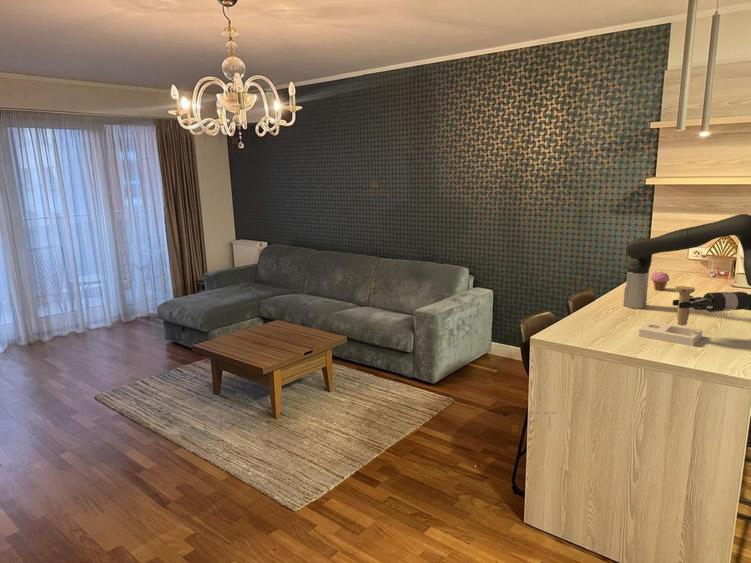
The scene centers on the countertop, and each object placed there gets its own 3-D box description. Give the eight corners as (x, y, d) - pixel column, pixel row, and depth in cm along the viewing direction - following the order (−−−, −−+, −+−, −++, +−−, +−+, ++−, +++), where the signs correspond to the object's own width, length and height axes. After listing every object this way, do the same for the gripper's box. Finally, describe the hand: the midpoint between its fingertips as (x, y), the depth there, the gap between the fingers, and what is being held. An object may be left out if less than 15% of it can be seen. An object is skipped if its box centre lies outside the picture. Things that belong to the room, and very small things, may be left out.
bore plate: (638, 336, 203) (639, 329, 203) (649, 327, 213) (650, 320, 212) (692, 346, 190) (693, 338, 190) (701, 336, 200) (702, 329, 199)
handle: (673, 321, 202) (676, 285, 198) (692, 324, 198) (695, 287, 194) (671, 325, 198) (674, 288, 195) (690, 327, 194) (693, 289, 191)
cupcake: (668, 292, 269) (669, 273, 267) (649, 290, 274) (651, 272, 271) (668, 288, 276) (670, 270, 274) (650, 287, 281) (652, 269, 279)
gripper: (709, 288, 202) (666, 290, 202) (734, 296, 188) (688, 299, 188) (707, 306, 204) (665, 308, 204) (732, 316, 190) (686, 318, 190)
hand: (676, 304), depth 196 cm, fingers closed on handle, 3 cm apart
